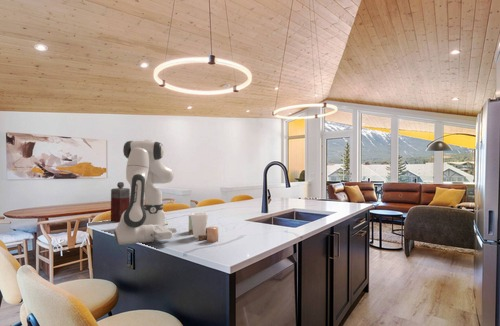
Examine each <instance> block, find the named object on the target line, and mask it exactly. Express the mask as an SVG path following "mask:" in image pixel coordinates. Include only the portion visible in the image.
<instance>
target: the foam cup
mask: <svg viewBox="0 0 500 326" xmlns="http://www.w3.org/2000/svg"><path fill="white" fill-rule="evenodd" d="M190 215H191V220H192V228H193V234H192V235H193V238H195V239H198V235H206V234H207V233H206V228H207V224H208V217H209V213H207V212H202V211H201V212H193V213H191V214H190Z"/></svg>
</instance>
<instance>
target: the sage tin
mask: <svg viewBox="0 0 500 326" xmlns="http://www.w3.org/2000/svg"><path fill="white" fill-rule="evenodd" d="M192 229H193V228H192V220H191V214H189V215H188V231H189V230H192Z"/></svg>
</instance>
